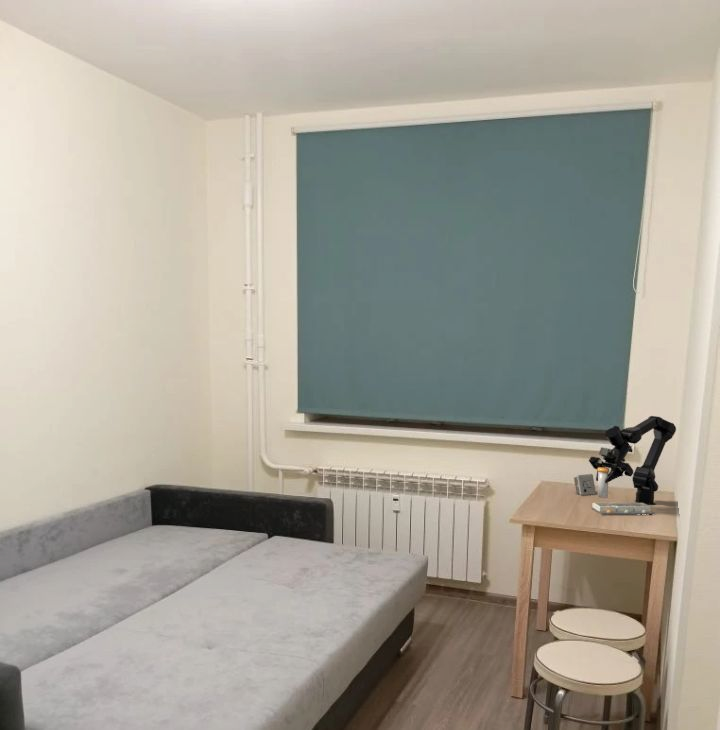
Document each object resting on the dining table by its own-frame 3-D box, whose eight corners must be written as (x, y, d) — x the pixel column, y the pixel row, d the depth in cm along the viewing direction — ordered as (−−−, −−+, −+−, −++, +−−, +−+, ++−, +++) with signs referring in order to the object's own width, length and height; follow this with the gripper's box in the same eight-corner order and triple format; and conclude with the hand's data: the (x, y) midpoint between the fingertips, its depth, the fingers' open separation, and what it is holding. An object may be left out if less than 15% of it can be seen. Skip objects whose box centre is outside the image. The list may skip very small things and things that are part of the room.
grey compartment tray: (641, 508, 282) (641, 502, 281) (654, 515, 272) (654, 508, 272) (591, 509, 280) (591, 502, 280) (602, 515, 270) (602, 508, 270)
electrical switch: (581, 496, 304) (580, 475, 304) (573, 494, 309) (572, 474, 309) (596, 494, 308) (595, 474, 309) (588, 493, 313) (587, 473, 313)
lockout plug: (602, 495, 280) (603, 467, 279) (610, 497, 275) (611, 469, 275) (594, 496, 278) (595, 467, 277) (602, 498, 274) (603, 469, 273)
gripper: (592, 437, 286) (574, 465, 280) (630, 443, 270) (611, 473, 265) (603, 454, 290) (585, 481, 285) (641, 461, 274) (623, 490, 269)
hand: (601, 481), depth 276 cm, fingers closed on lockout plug, 4 cm apart
